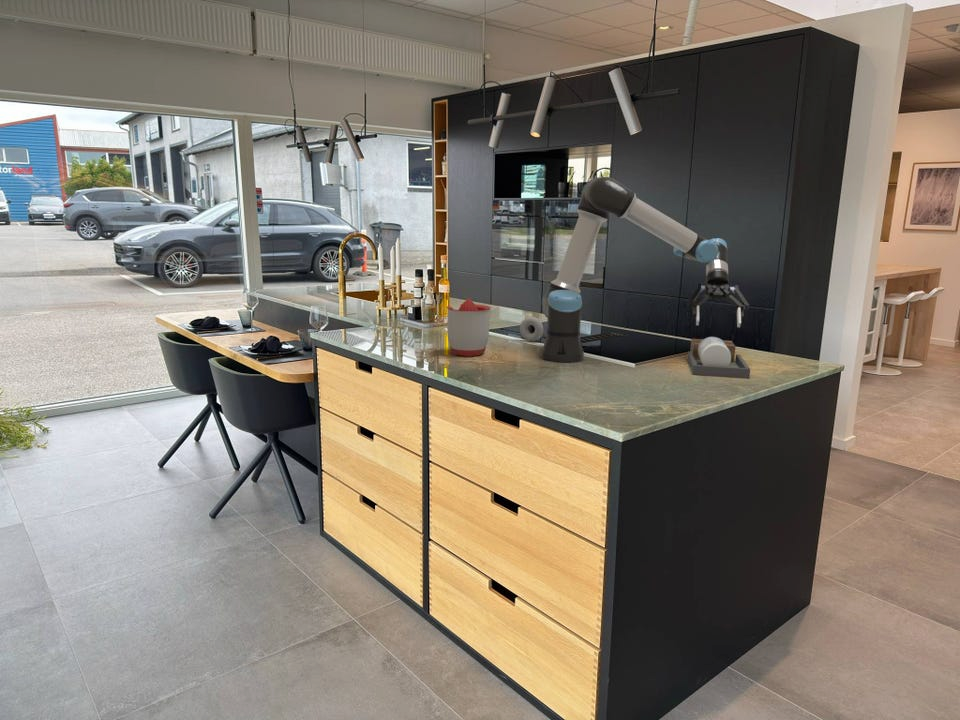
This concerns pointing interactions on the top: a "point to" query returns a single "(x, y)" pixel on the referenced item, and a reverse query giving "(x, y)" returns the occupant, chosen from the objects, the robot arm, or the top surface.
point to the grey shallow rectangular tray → (720, 368)
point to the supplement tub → (714, 352)
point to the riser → (696, 342)
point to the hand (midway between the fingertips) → (718, 324)
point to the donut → (537, 326)
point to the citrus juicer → (468, 328)
